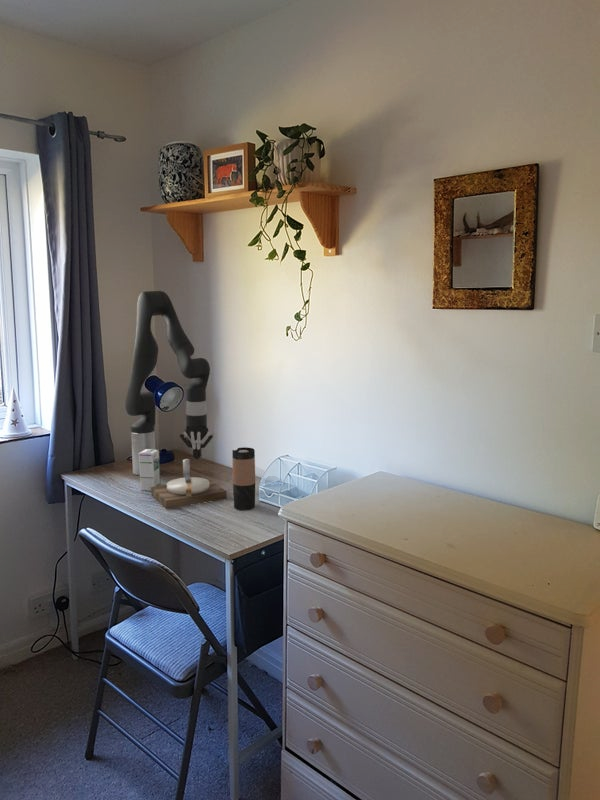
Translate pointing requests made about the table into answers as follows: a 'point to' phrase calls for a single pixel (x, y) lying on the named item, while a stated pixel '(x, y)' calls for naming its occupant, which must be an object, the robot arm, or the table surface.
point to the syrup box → (149, 469)
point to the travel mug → (244, 478)
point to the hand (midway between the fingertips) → (197, 458)
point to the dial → (187, 482)
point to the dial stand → (187, 496)
